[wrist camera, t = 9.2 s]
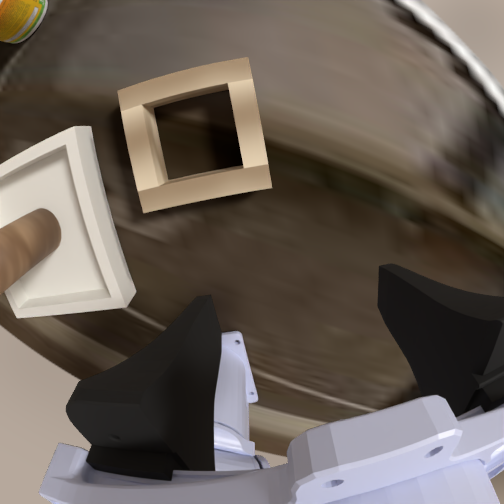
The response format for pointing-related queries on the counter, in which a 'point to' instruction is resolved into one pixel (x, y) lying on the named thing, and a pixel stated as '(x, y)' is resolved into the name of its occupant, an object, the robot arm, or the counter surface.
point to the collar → (149, 148)
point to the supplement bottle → (20, 18)
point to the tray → (66, 228)
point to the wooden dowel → (26, 244)
